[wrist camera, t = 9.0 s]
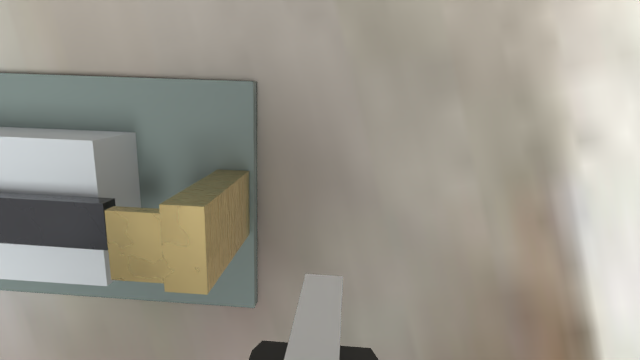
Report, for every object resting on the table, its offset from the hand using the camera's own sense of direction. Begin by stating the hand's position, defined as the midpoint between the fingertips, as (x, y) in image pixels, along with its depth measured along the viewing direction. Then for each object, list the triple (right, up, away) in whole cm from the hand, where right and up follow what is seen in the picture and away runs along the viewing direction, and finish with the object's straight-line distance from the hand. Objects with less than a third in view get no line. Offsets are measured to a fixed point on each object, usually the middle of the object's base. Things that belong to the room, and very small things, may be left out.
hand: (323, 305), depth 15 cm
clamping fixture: (-20, +4, +16) cm, 26 cm away
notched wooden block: (-8, +3, +14) cm, 17 cm away
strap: (-21, +3, +10) cm, 23 cm away
